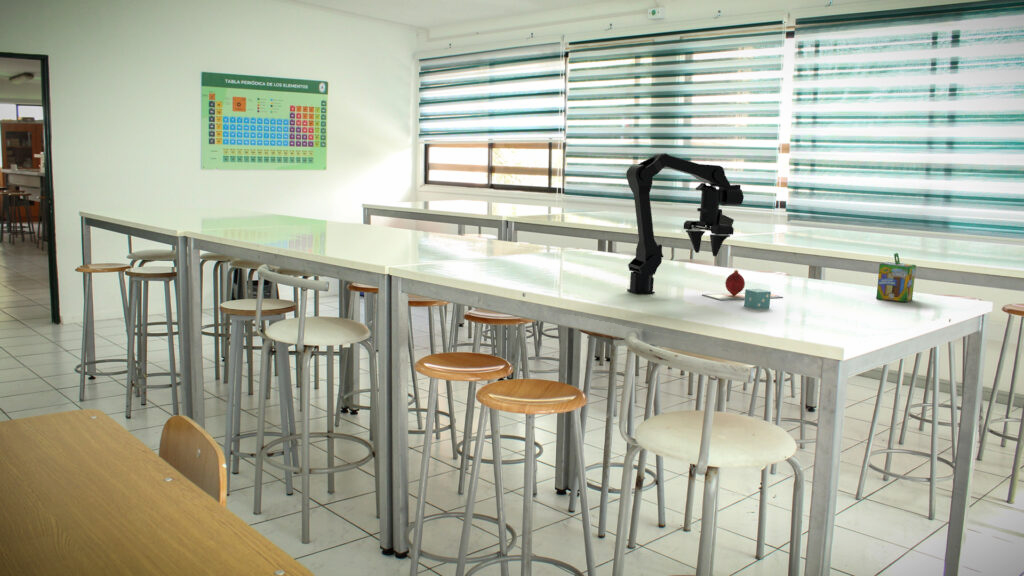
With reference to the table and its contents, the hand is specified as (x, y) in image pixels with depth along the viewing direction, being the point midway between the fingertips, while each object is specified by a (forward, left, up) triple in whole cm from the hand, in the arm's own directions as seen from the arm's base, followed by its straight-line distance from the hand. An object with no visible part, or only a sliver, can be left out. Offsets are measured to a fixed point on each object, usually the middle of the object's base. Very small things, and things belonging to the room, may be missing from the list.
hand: (705, 254), depth 252 cm
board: (+7, -11, -12) cm, 18 cm away
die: (-1, -27, -12) cm, 30 cm away
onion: (+4, -11, -12) cm, 16 cm away
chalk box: (+56, -25, -12) cm, 62 cm away
